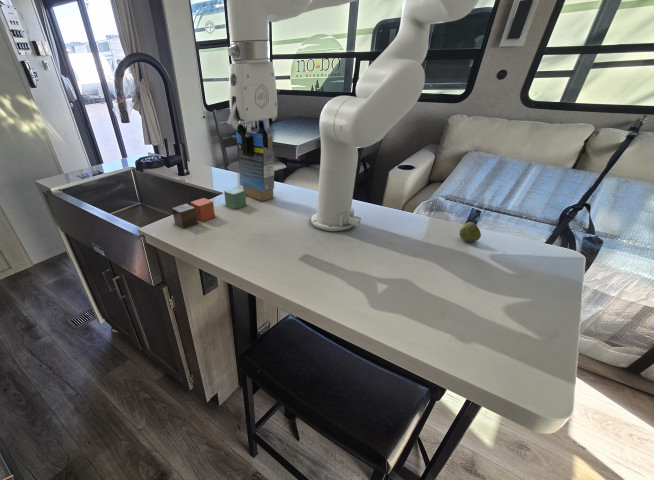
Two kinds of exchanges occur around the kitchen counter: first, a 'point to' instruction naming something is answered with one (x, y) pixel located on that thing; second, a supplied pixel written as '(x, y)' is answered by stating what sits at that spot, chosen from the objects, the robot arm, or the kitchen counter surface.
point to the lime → (470, 232)
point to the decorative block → (257, 193)
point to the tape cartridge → (256, 165)
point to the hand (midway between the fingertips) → (255, 152)
